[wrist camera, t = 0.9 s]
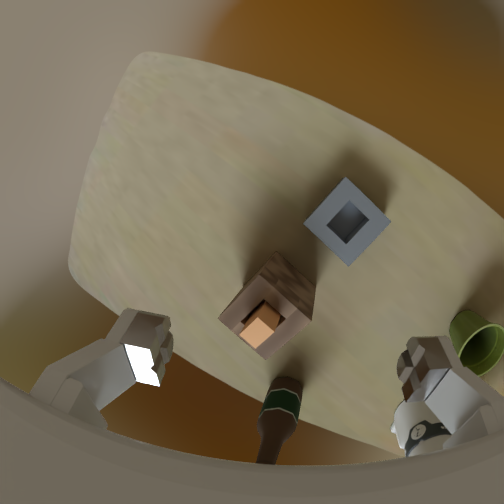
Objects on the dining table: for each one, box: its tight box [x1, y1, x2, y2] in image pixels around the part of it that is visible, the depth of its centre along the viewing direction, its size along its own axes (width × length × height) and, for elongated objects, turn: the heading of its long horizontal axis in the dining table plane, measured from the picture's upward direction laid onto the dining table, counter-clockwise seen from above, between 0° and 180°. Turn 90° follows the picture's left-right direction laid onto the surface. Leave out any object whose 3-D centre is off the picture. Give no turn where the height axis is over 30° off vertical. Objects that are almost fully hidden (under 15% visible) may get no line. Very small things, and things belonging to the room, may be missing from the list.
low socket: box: [303, 177, 391, 267], centre depth 46 cm, size 10×10×6 cm
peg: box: [239, 300, 281, 349], centre depth 41 cm, size 3×4×8 cm
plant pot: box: [449, 310, 504, 377], centre depth 41 cm, size 12×12×11 cm
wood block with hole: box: [218, 251, 316, 360], centre depth 48 cm, size 10×10×14 cm
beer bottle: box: [256, 377, 303, 465], centre depth 48 cm, size 8×8×24 cm
